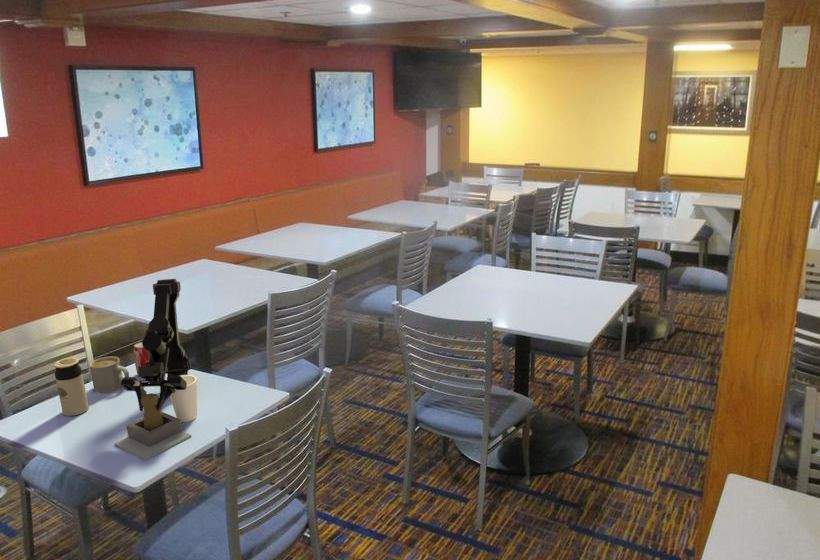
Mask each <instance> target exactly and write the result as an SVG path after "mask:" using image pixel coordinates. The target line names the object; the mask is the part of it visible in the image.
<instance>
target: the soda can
mask: <svg viewBox="0 0 820 560" xmlns="http://www.w3.org/2000/svg"><path fill="white" fill-rule="evenodd" d="M133 347H134V348H133V349H132V351H133V359H134V366H135V370H136V373H137V375H138V366H145V365H146V362H148V360H149V355H148V353H147V352H146V350H145V349H144V347H143V345H142V341H139V342H137V343H135V344H134V346H133Z"/></svg>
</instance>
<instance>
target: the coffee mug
mask: <svg viewBox="0 0 820 560" xmlns="http://www.w3.org/2000/svg"><path fill="white" fill-rule="evenodd" d="M89 370H90V374H91V380H92V385H93V390H94V392H95V393H97V394H108V393H113V392H116V391H119V390H120V389H122V388H123V387H122V386H121V380H122V379H123V378H124V377H130V373H129V370H128V368H127V367H125V366H122V365H121V359H120V357H118V356H113V355H112V356H111V355H110V356H104V357H99V358H97V359H96V358H95V359H94V360H92V361H91V362H90V363H89ZM123 375H124V376H123Z"/></svg>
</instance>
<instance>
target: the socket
mask: <svg viewBox="0 0 820 560" xmlns="http://www.w3.org/2000/svg"><path fill="white" fill-rule="evenodd" d="M160 412H161V415H162V418H163V422H164V425H162V426H160V427H158V428H156V429H154V430H151V431H148V430H145V429H144V416H143V417H141V418H138V419H136V420H134V421H132V422H130V423H128V424H126V425H125V426H126V432H127V436H126V437H125V438H123V439H120V440H118V441H116V442H114V446H115V447H118V448H120V449H122V450H123V451H126V452H127V453H130V454H131V455H133V456H135V457H138V458H139V459H141V460H143V461H147V460H149V459H151V458H153V457H155V456H157V455H160V454H161V453H163V452H164V451H167V450H169V449H171V448H172V446H173V447H174V445H175V446H176V444H177V445H179V444H181V443H182V442H185V441H186V440H189V439H190V438H192V434H190V433H187V432H186V431H183V427H182V422H181V420H180V419H178V418H177V417H176V416H174V415H170V414H168V413H165V412H164V411H162V410H160ZM189 437H190V438H189ZM178 443H179V444H178Z"/></svg>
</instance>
